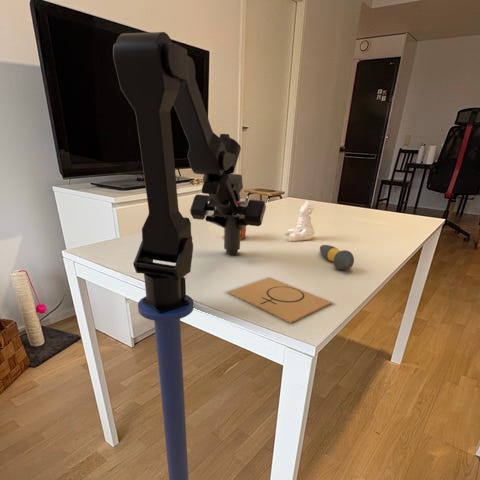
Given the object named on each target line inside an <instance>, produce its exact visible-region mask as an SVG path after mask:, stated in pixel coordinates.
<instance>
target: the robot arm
mask: <svg viewBox="0 0 480 480" xmlns="http://www.w3.org/2000/svg"><path fill="white" fill-rule="evenodd" d="M112 59H113V64H114V66H115V71H116V75H117V79H118V83H119V87H120V91H121V92H122V93H123V95H124V97H125V98H126V100H127V101H128V103H129V105H130V106H131V108H132V109H133V111H134V114H135V117H136V119H135V120H136V126H137V134H138V141H139V150H140V157H141V164H142V171H143V178H144V179H143V180H144V186H145V193H146V200H147V207H148V215H147V217H146V218H145V221H144V223H143V225H142V227H141V242H140V244H139V246H138V250H137V253H136V255H135V257H134V261H133V263H132V264H133V268H134V270H135V273H136V274H143V277H144V279H143V280H144V287H145V296H146V298H145V299H143V303H145V304H146V305H148V306H149V307H151V308H152V309H154V310H155V311H157V312H158V313H165V312H168V311H171V310H174V309H177V308H180V307H183V306H186V305H188V304H189V301H188V300H186V299H184V298H186V295H187V285H186V277H185V276H187V275H188V274H190V272H191V270H192V261H193V253H194V242H193V236H192V222H191V220H190V218H189V217H184V216H183V215H182V213H181V212H180V210H179V209H180V208H179V198H178V189H177V176H176V175H177V174H176V166H175V156H174V155H175V154H174V153H175V151H174V142H173V131H172V119H171V118H172V117H171V111H172V109H173V107H174V110H175V113H176V115H177V117H178V120H179V123H180V125H181V127H182V129H183V132H184V134H185V137H186V139H187V142H188V146H189V147H188V151H187V159H188V164H189V166H190V169H191V171H192V172H193V174H195V175H203V177H202V183H203V184H202V187H201V193H202V194H200V193H199V194H195V195H194V198H193V200H192V203H191V206H190V209H189V214H190V215H191V217H192V219H193V220H201V221H203V220H205V222H207V223H211V224H213V225H216V226H218V227H220V228H223V229H224V228H225V217H231V218H233V216H236V217H237V216H239V217H238V221H237V226H238V227H239V229H240V230H241V231H243V227H244V226H246V227H247V226H253V227H260V226H261V225H262V224H263V221H264V217H265V212H266V208H267V205H266V202H265V201H264V200H261V199H249V200H248V201H245V202H242V203H241V204H237V201H240V198H241V194H240V193H241V192H242V190H243V188H244V185H243V176H242V174H239V173H238V174H236V173H235V170H236V167H237V163H238V161H239V157H240V154H241V149H242V148H241V145H240V144H239V142H238V141H237V140H235V139H234V138H232V137H230V134H229V133H220V135H219V136H218V135H217V134H216V133H214V131H213V129H212V126H211V123H210V120H209V117H208V113H207V111H206V110H207V109H206V107H205V104H204V101H203V98H202V95H201V92H200V89H199V85H198V83H197V82H198V81H197V79H196V66H195V61H194V59H193V58H192V56H189V55H188V50H187V49H186V48H185V47H183V46H181V45H179V44H177V43H175V42H173V41H172V38H171V37H170V36H169V34H168V33H166V32H165V31H154V32H153V31H152V32H127V33H124V32H123V33H120V35H118V36H117V39H116V42H115V43H114V44H113V46H112ZM154 261H159V262H164V263H159V262H154ZM166 263H171V264H172V263H173V265H171V264H166Z"/></svg>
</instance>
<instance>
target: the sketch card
mask: <svg viewBox="0 0 480 480" xmlns="http://www.w3.org/2000/svg"><path fill="white" fill-rule="evenodd" d="M228 294H230V295H232V296H234V297H236V298H237V299H240V300H242V301H244V302H247V303H248V304H251V305H252V306H254V307H256V308H258V309H260V310H263V311H264V312H267V313H269V314H271V315H273V316H275V317H277V318H279V319H281V320H283V321H285V322H287V323H289V324H293V323H294V322H297V321H298V320H301V319H303V318H305V317H307V316H309V315H311V314H313V313H315V312H317V311H320V310H321V309H323V308H325V307H327V306H329V305H331V304H332V301H329V300H327V299H325V298H322V297H320V296H317V295H314V294H313V293H310V292H307V291H305V290H302V289H300V288H297V287H295V286H292V285H289V284H288V283H284V282H282V281H279V280H277V279H275V278H273V277H268V278H265V279H262V280H259V281H256V282H253V283H250V284H247V285H244V286H241V287H238V288H235V289H232V290H229V291H228Z"/></svg>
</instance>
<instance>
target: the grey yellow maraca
mask: <svg viewBox="0 0 480 480" xmlns="http://www.w3.org/2000/svg"><path fill="white" fill-rule="evenodd" d="M319 251H320V253H321V254H322V256H323V257H324V258H325V259H327V260H329V261H330V262H333V265H334V267H335V268H336V269H337V270H340V271H347V270H349V269H351V268H352V267H353V265H354V263H355V258H354V255H353V253H352V252H351V251H349V250H346V249H345V250H343V249H342V250H340V249H339V248H338V247H335V246H333V245H329V244H322V245H320V246H319Z"/></svg>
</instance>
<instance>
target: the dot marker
mask: <svg viewBox="0 0 480 480" xmlns="http://www.w3.org/2000/svg"><path fill="white" fill-rule="evenodd" d="M238 217H239V216H237V217H236V216H233V218H231V217H225V233H224V232H223V233H224V234H223V235H224V236H223V239H224V240H223V249H224V250H225V253H226V254H228V255H237V254H238V253H239V252H238V251H239V250H241V239H240V234H241V230H240V229H239V227H238V226H237V221H238Z"/></svg>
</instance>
